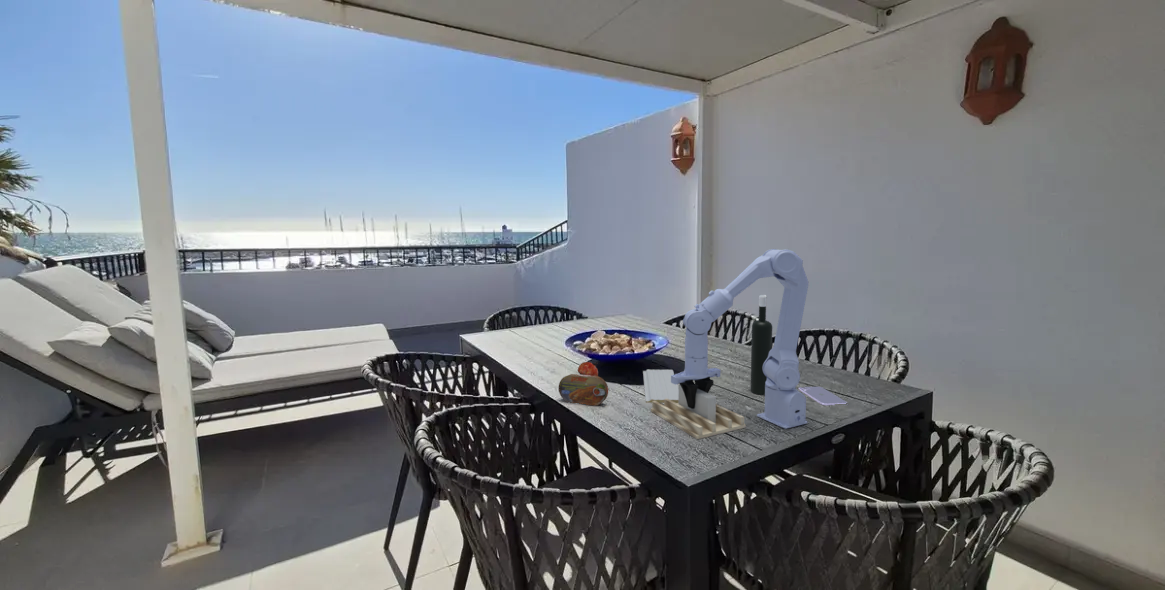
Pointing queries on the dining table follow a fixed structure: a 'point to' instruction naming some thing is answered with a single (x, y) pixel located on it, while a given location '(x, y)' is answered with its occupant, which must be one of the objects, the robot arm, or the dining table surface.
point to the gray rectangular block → (701, 404)
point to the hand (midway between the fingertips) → (695, 406)
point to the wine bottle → (760, 348)
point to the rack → (698, 419)
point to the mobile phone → (822, 395)
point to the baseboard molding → (659, 386)
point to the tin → (583, 389)
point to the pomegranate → (588, 369)
